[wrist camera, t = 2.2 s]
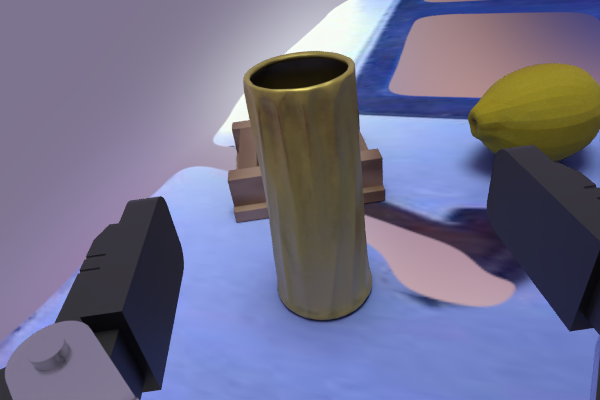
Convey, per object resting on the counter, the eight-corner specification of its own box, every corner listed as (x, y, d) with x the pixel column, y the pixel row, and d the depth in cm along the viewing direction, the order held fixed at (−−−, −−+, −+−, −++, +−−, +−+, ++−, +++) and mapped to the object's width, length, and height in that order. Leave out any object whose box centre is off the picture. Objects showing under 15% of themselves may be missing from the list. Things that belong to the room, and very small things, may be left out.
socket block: (355, 133, 45) (354, 101, 43) (385, 200, 35) (384, 162, 33) (239, 150, 45) (232, 119, 43) (236, 222, 35) (227, 186, 33)
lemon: (568, 131, 40) (591, 43, 36) (618, 176, 34) (654, 76, 29) (449, 143, 41) (456, 58, 37) (476, 190, 35) (489, 94, 30)
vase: (266, 316, 27) (213, 96, 19) (291, 249, 32) (256, 50, 23) (366, 327, 25) (356, 93, 17) (376, 255, 30) (371, 44, 22)
